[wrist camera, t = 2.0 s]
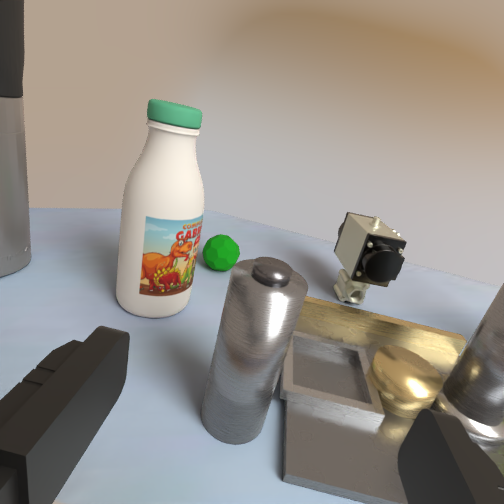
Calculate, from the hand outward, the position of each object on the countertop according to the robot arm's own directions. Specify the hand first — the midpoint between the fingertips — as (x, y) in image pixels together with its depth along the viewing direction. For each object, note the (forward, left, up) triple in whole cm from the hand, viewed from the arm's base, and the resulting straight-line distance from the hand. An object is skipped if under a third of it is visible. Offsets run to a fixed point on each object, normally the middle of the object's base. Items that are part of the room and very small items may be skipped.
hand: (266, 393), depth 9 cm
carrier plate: (+14, +17, -14) cm, 26 cm away
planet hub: (0, +11, -14) cm, 18 cm away
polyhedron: (-6, +34, -14) cm, 38 cm away
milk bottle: (-11, +23, -14) cm, 30 cm away
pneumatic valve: (+13, +35, -14) cm, 40 cm away
